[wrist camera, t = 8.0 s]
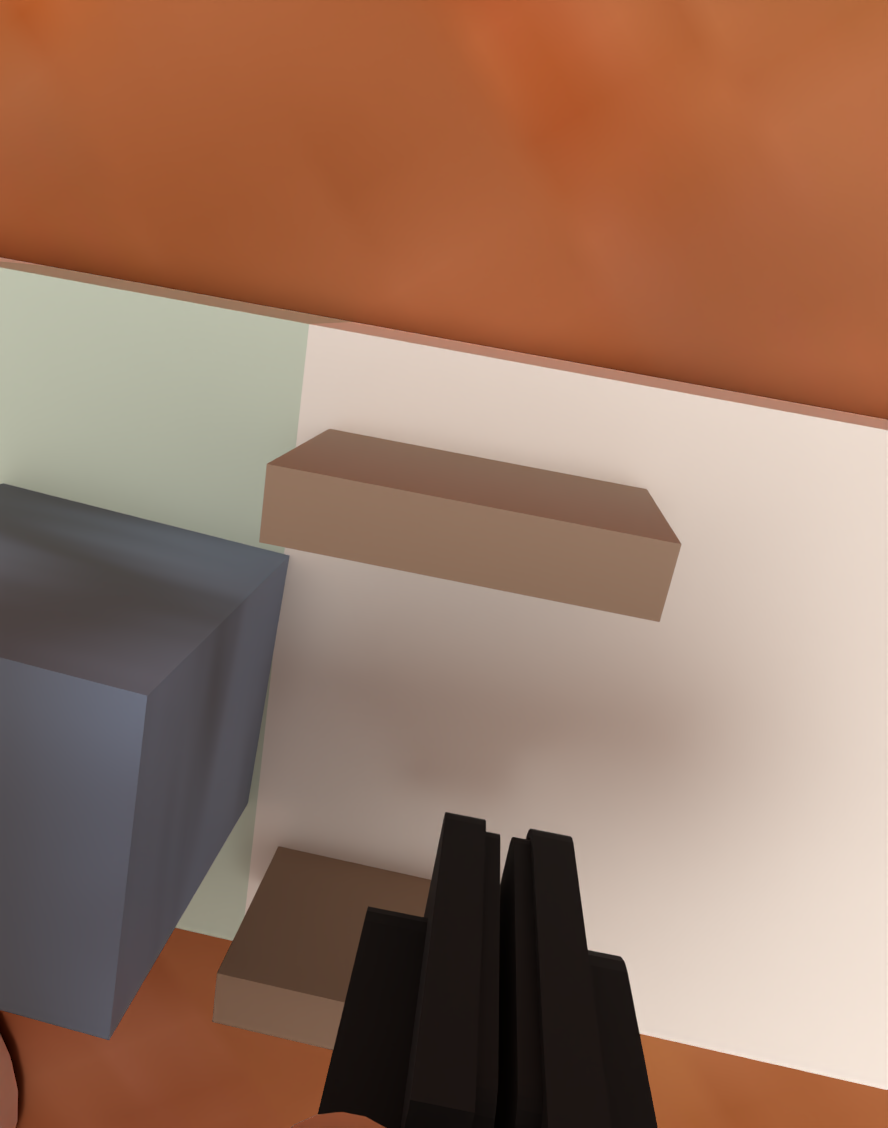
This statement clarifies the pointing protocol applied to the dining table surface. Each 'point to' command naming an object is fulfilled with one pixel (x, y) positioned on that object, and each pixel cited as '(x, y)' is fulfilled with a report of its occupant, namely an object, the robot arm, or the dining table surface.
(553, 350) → the dining table surface
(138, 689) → the block
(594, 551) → the board
